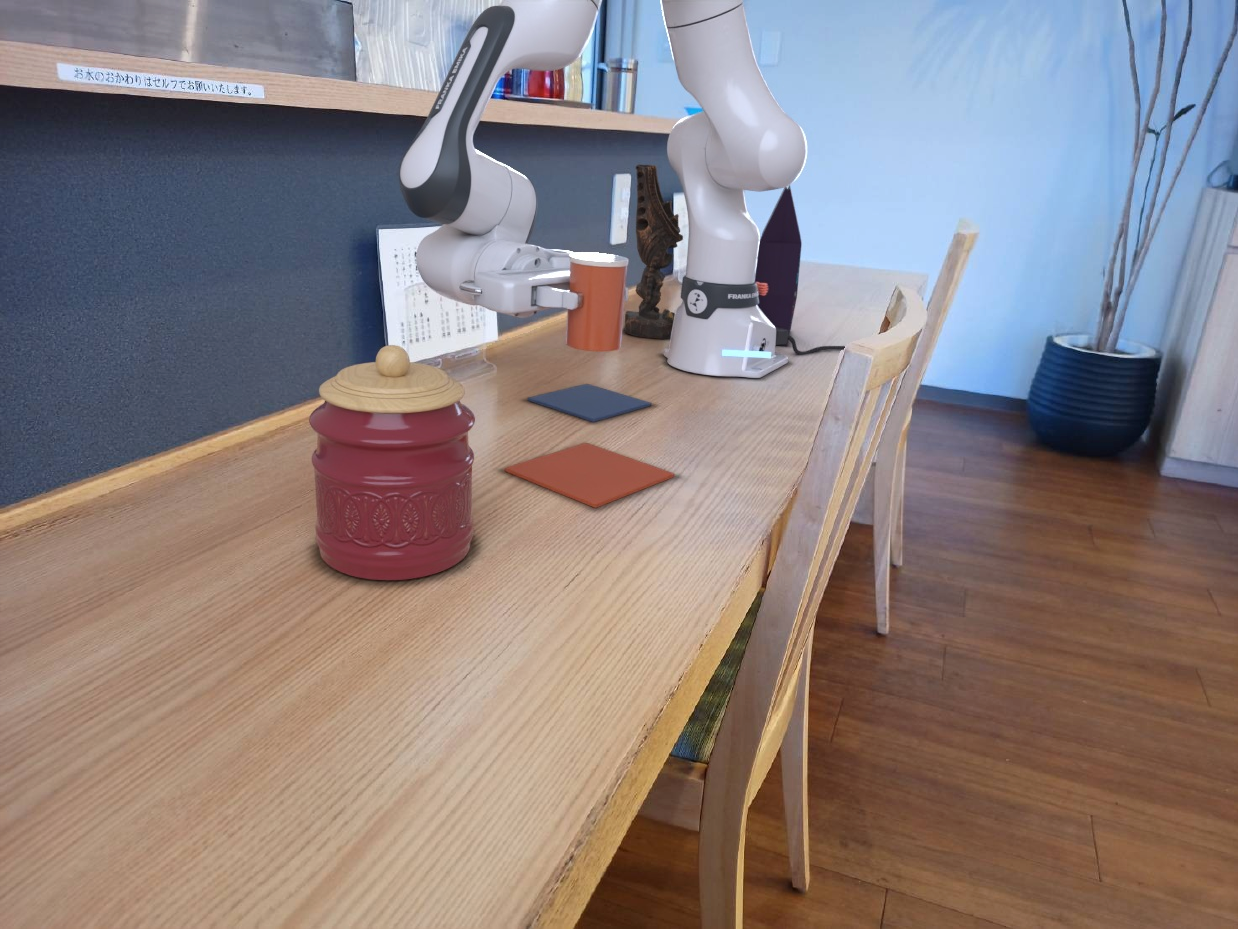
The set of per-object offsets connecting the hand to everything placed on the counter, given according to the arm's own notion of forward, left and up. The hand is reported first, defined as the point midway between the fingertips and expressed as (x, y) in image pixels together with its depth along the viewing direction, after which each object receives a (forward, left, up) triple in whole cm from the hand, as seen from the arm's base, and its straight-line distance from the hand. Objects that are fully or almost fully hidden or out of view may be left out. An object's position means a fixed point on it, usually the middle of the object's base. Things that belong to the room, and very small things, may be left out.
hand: (602, 298), depth 99 cm
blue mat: (-12, -11, -17) cm, 24 cm away
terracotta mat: (+8, +7, -17) cm, 20 cm away
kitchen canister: (+34, +8, -17) cm, 39 cm away
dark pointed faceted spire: (-74, -20, -17) cm, 78 cm away
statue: (-56, -35, -17) cm, 68 cm away
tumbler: (0, -1, -5) cm, 6 cm away
